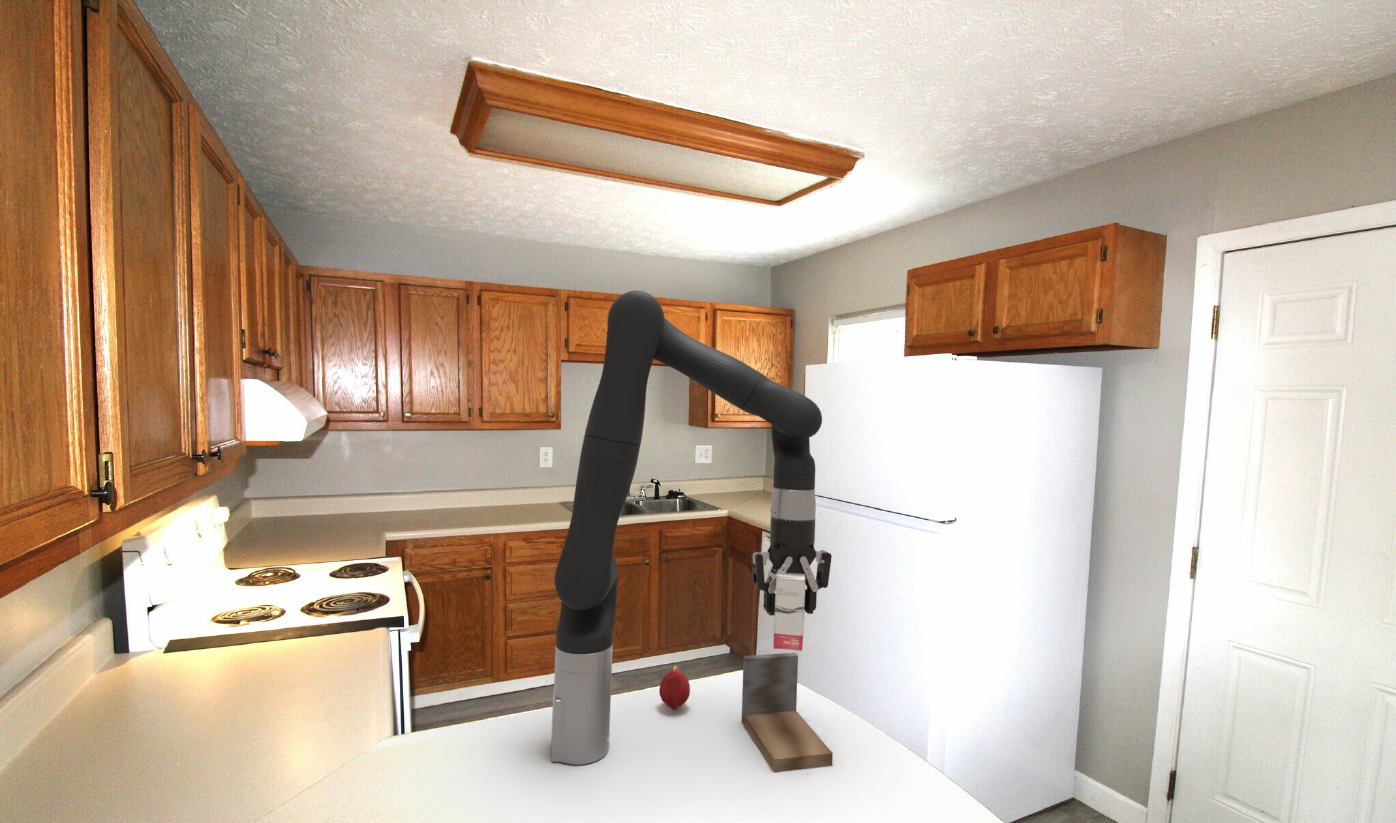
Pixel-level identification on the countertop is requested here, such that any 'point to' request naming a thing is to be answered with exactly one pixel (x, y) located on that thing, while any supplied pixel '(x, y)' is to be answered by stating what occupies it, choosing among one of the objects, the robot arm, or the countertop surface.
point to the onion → (674, 689)
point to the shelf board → (779, 714)
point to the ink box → (789, 611)
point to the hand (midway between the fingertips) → (789, 613)
